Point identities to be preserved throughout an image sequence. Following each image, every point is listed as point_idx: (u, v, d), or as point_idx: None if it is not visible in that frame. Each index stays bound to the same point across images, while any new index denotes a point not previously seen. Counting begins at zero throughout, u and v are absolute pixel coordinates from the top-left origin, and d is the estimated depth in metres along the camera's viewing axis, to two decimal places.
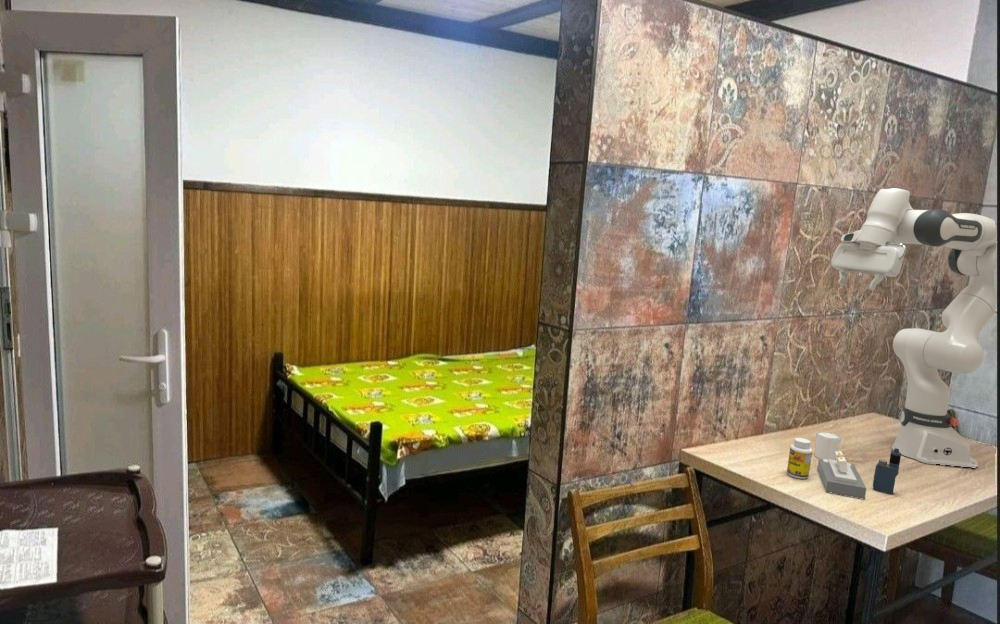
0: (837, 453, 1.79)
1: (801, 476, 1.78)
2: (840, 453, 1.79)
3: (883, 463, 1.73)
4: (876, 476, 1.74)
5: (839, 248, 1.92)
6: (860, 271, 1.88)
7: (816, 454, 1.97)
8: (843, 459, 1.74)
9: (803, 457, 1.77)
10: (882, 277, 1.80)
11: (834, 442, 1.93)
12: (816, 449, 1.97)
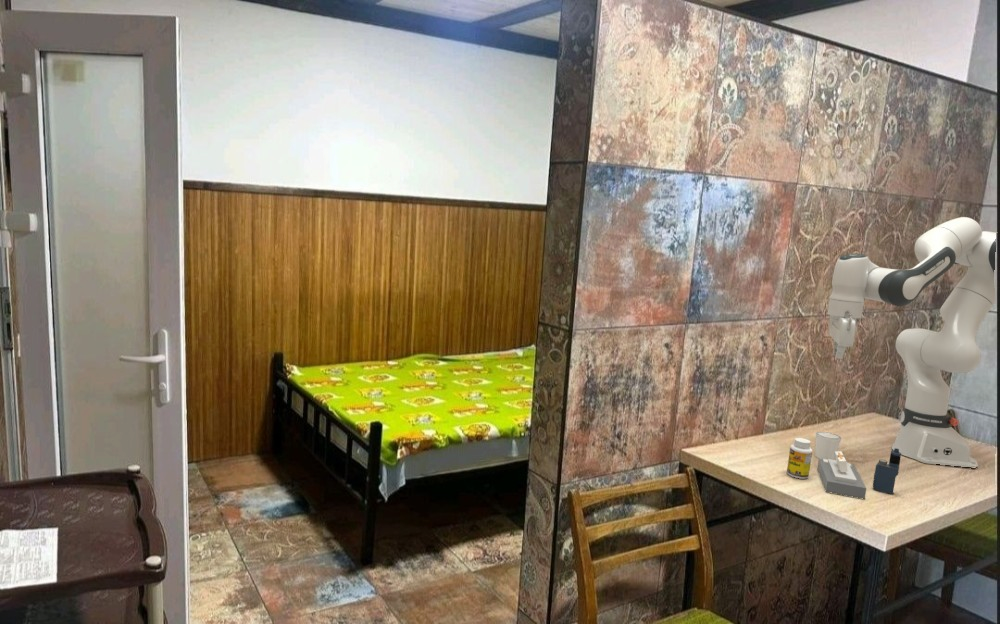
0: (837, 453, 1.79)
1: (801, 476, 1.78)
2: (840, 453, 1.79)
3: (883, 463, 1.73)
4: (876, 476, 1.74)
5: (830, 318, 1.98)
6: None
7: (816, 454, 1.97)
8: (843, 459, 1.74)
9: (803, 457, 1.77)
10: (843, 346, 1.87)
11: (834, 442, 1.93)
12: (816, 449, 1.97)
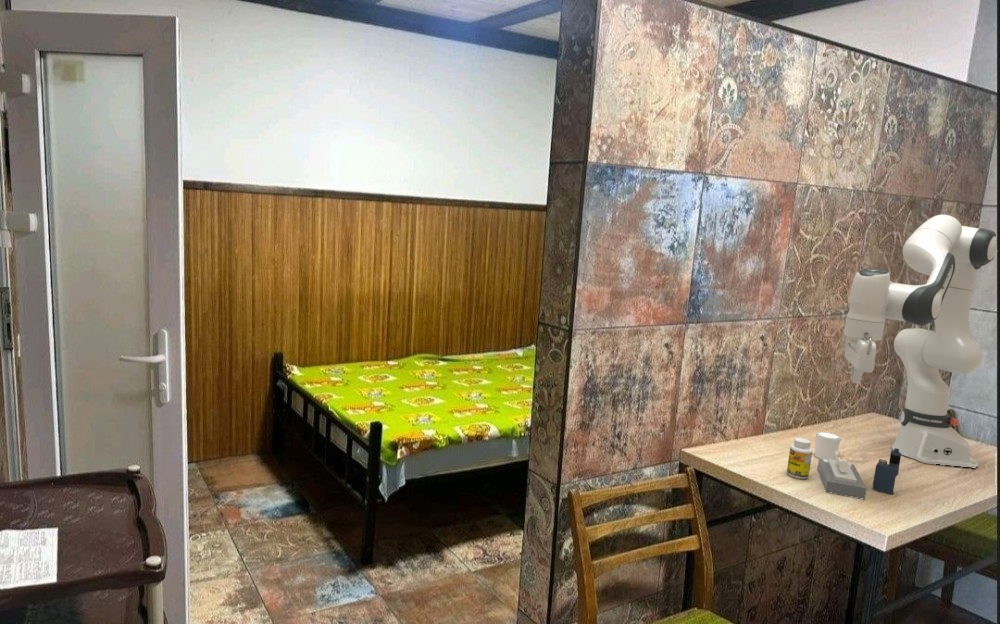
0: (837, 453, 1.79)
1: (801, 476, 1.78)
2: (840, 453, 1.79)
3: (883, 463, 1.73)
4: (876, 476, 1.74)
5: (846, 339, 1.80)
6: None
7: (816, 454, 1.97)
8: (843, 459, 1.74)
9: (803, 457, 1.77)
10: None
11: (834, 442, 1.93)
12: (816, 449, 1.97)
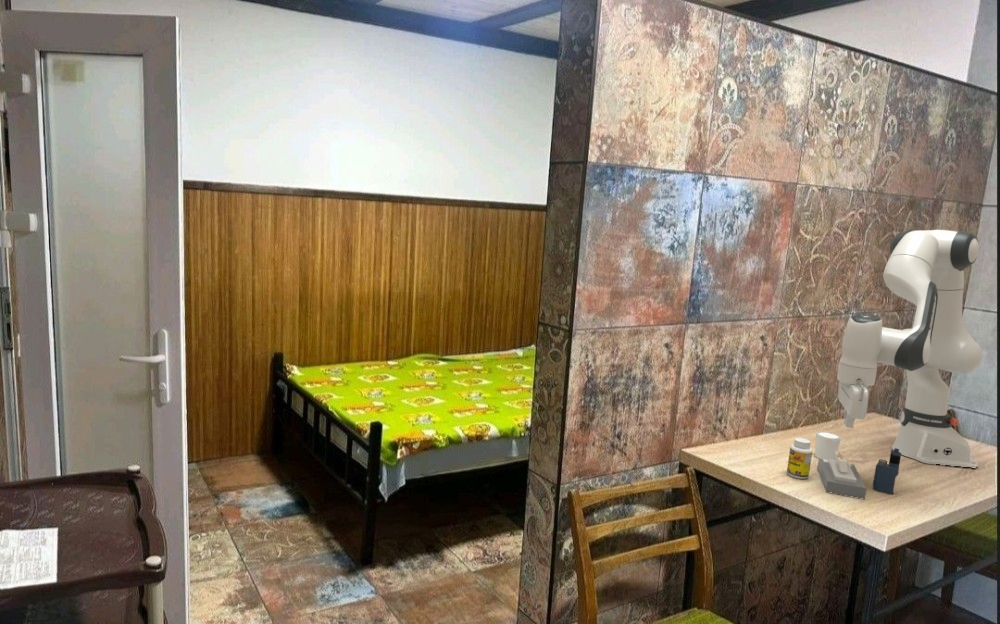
0: (837, 453, 1.79)
1: (801, 476, 1.78)
2: (840, 453, 1.79)
3: (883, 463, 1.73)
4: (876, 476, 1.74)
5: (839, 381, 1.82)
6: None
7: (816, 454, 1.97)
8: (843, 459, 1.74)
9: (803, 457, 1.77)
10: None
11: (834, 442, 1.93)
12: (816, 449, 1.97)
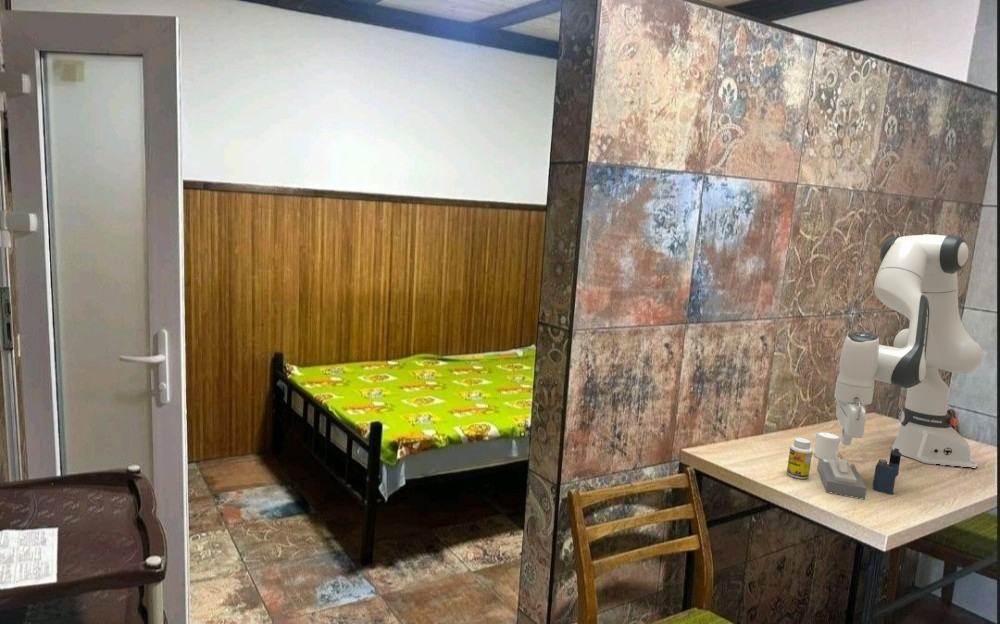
0: (837, 453, 1.79)
1: (801, 476, 1.78)
2: (840, 453, 1.79)
3: (883, 463, 1.73)
4: (876, 476, 1.74)
5: (837, 398, 1.83)
6: None
7: (816, 454, 1.97)
8: (843, 459, 1.74)
9: (803, 457, 1.77)
10: None
11: (834, 442, 1.93)
12: (816, 449, 1.97)
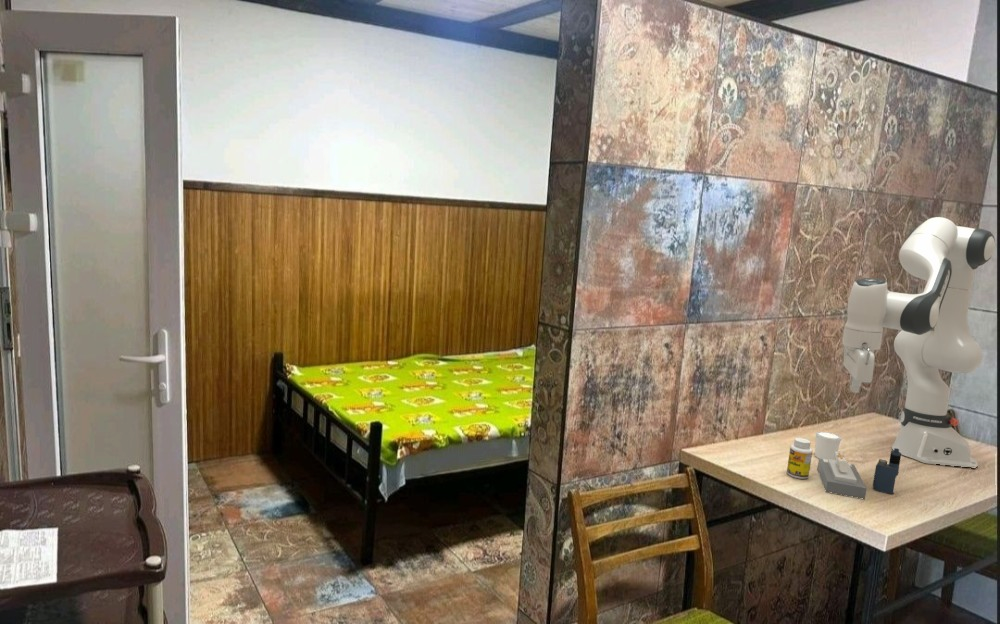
0: (837, 453, 1.79)
1: (801, 476, 1.78)
2: (840, 453, 1.79)
3: (883, 463, 1.73)
4: (876, 476, 1.74)
5: (844, 347, 1.81)
6: None
7: (816, 454, 1.97)
8: (843, 459, 1.74)
9: (803, 457, 1.77)
10: None
11: (834, 442, 1.93)
12: (816, 449, 1.97)
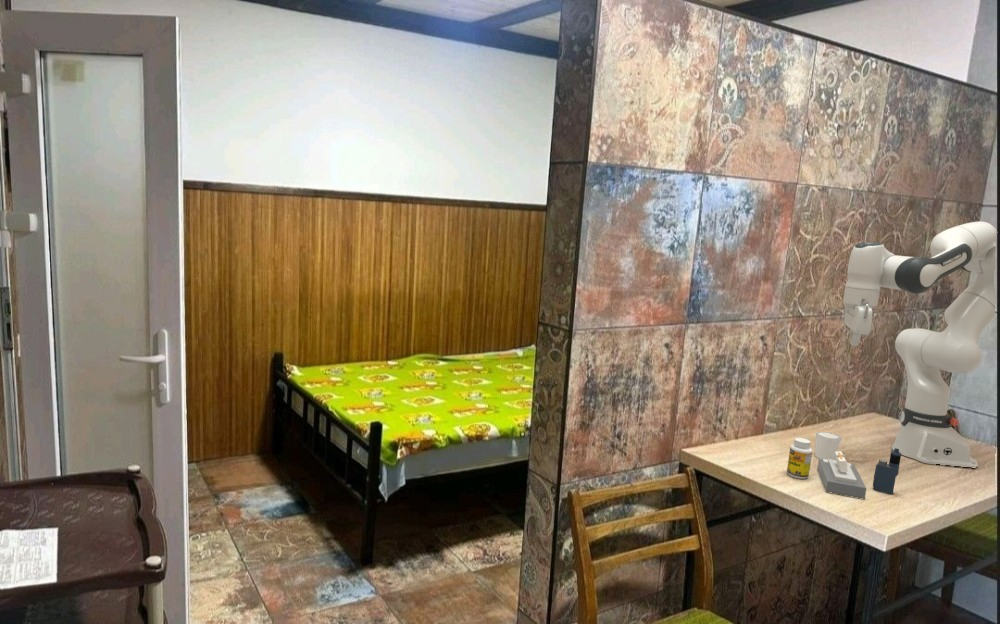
0: (837, 453, 1.79)
1: (801, 476, 1.78)
2: (840, 453, 1.79)
3: (883, 463, 1.73)
4: (876, 476, 1.74)
5: (845, 307, 1.98)
6: None
7: (816, 454, 1.97)
8: (843, 459, 1.74)
9: (803, 457, 1.77)
10: (858, 333, 1.88)
11: (834, 442, 1.93)
12: (816, 449, 1.97)
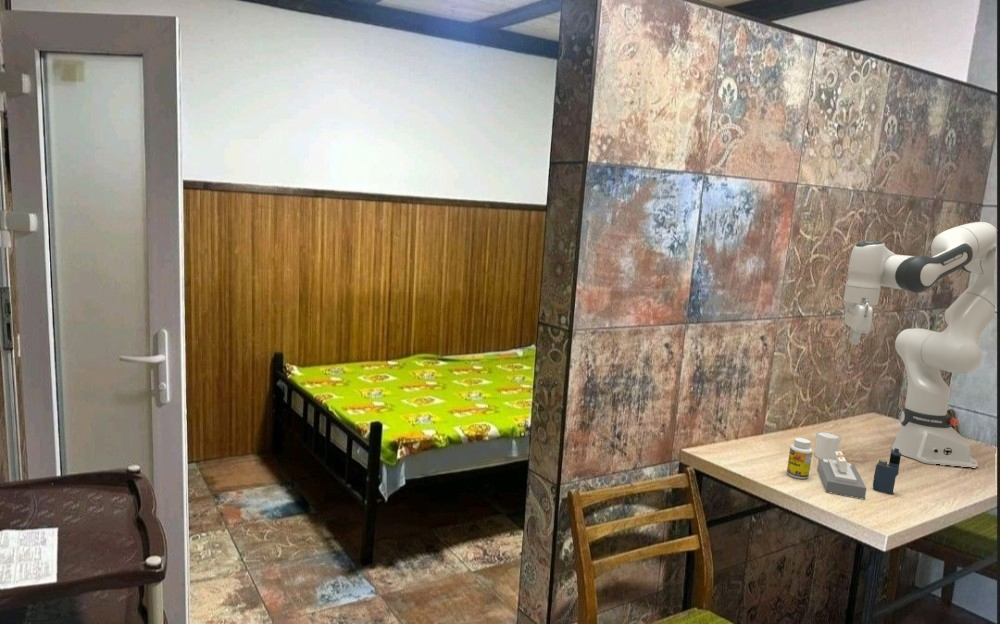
0: (837, 453, 1.79)
1: (801, 476, 1.78)
2: (840, 453, 1.79)
3: (883, 463, 1.73)
4: (876, 476, 1.74)
5: (845, 306, 1.98)
6: None
7: (816, 454, 1.97)
8: (843, 459, 1.74)
9: (803, 457, 1.77)
10: None
11: (834, 442, 1.93)
12: (816, 449, 1.97)
